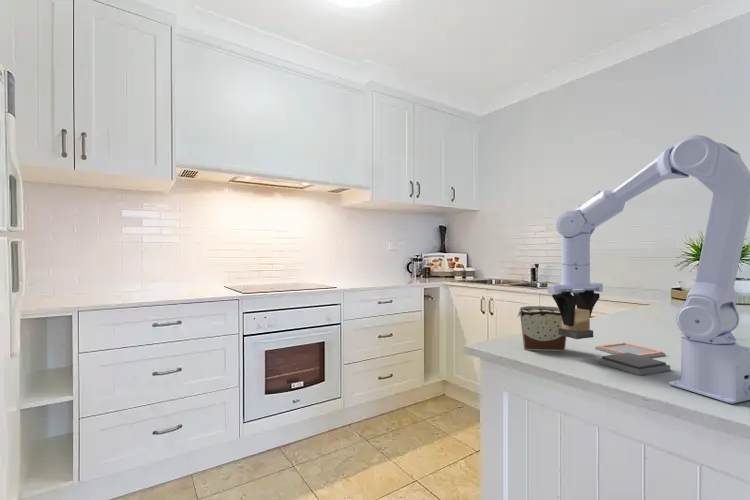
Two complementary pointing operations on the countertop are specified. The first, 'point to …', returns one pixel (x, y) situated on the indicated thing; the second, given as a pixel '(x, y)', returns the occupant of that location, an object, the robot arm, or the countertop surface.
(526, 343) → the food container
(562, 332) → the stamp
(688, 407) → the countertop surface
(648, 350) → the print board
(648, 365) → the pad
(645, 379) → the countertop surface
